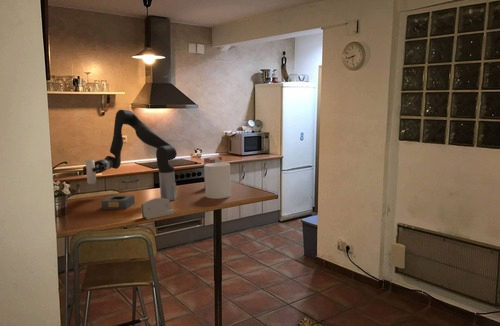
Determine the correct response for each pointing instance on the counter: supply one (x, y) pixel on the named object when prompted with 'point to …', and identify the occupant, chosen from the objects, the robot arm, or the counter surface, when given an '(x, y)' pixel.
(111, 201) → the socket block
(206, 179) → the canister
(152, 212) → the hinge
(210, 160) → the cracker box
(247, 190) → the counter surface
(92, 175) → the peg
